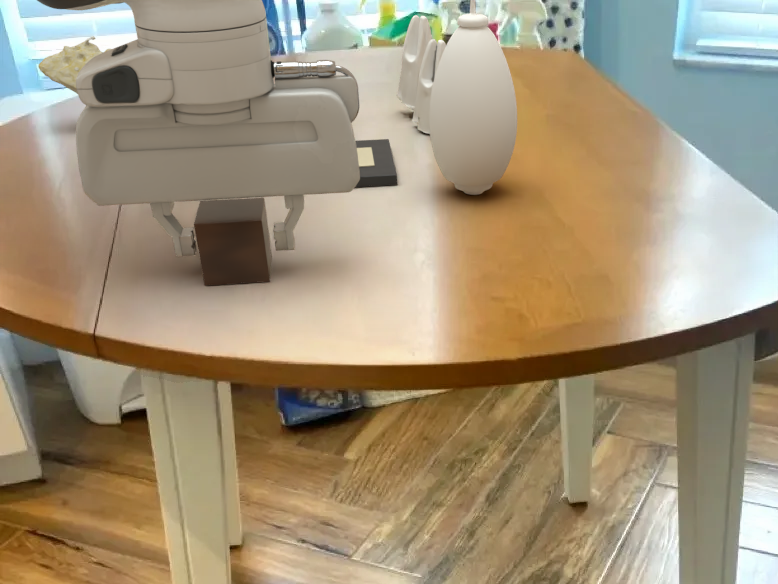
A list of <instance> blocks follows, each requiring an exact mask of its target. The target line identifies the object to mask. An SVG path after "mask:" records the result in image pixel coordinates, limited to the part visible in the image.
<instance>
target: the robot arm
mask: <svg viewBox="0 0 778 584" xmlns="http://www.w3.org/2000/svg"><path fill="white" fill-rule="evenodd" d="M36 1H37V2H39V3H40V4H42V5H43V6H46V7H48V8H51V9H55V10H67V11H88V10H93V9H97V8H102V7H106V6H109V5H117V4H118V5H119V4H124V3H125V4H126V5H128V7H129V8H130V10H131V11H132V14H133V21H134V28H135V33H136V37H137V38H136V39H135V40H132V41H129V42H127V43H124V44H122V45H119V46H117V47H113V48H110V49H111V50H108V51H106V50H105V51H106V52H105V51H102V52H103V53H101V54H99V55H97V56H95V57H94V58H92V59H91V60H90V61H88V62H87V63H86V64H85V65H84V66H83V67H82V69H81V70H80V71H79V73H78V75H77V78H76V88H77V93H78V94H77V93H76V94H77V96H78V99H79V100H80V102H81V103H82V104H83V105H85V106H84V108H83V109H82V111H81V113H80V114H79V116H78V118H77V120H76V125H75V147H76V157H77V164H78V170H79V171H78V172H79V176H80V181H81V185H82V189H83V190H82V191H83V193H84V194H85V195H86V196H87V198H89V199H90V200H91V201H92V202H94V204H96V205H97V206H100V207H107V206H123V205H143V204H150V209H151V215H152V218H153V219H154V220H155V221H156V222H157V223H158V225H160V227H162V229H163V230H164V231H165V233H167V235H168V236H169V237H171V238H172V243H173V249H174V253H175V257H177V258H181V257H192V256H197V252H198V246H197V240H196V234H195V229H194V226H193V227H184V226H183V225H182V224H181V223H180V221H179V220H178V219H177V218H176V216H175V215H174V213H173V210H174V207H175V203H179V202H197V201H198V202H200V201H209V200H228V199H246V198H271V197H283V198H284V205H285V208H286V209H287V210H288V212H287V214H286V216H285V219H284V221H280V222H273V229H272V230H273V231H272V233H273V239H274V247H275V251H276V252H278V251H281V252H282V251H295V250H296V249H295V248H296V244H295V243H296V242H295V232H294V231H295V228H296V226H297V224H298V221H299V219H300V217H301V215H302V214H303V212H304V209H305V196H307V195H324V194H326V195H327V194H341V193H342V194H343V193H344V194H345V193H350V192H352V191H353V190H354V189H355V188H356V187H355V186H356V185H357V183H358V182H359V180H360V170H359V161H358V154H357V147H356V142H355V141H356V137H355V132H354V127H353V124H352V123H353V122H354V121H355V120H356V119H357V117H358V114H359V111H360V92H359V84H358V81H357V78H356V77H355V76H354V74H353V73H352V72H351V71H350V70H349V69H348V68H346V67H343V66H341V65H336V61H335V60H332V59H331V60H330V59H319V60H316V61H298V60H289V61H273V60H272V55H271V47H270V38H269V29H268V21H267V20H268V19H267V13H266V8H265V4H264V2H263V0H36ZM337 72H338V73H340V75H339V74H337Z"/></svg>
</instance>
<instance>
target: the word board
mask: <svg viewBox="0 0 778 584" xmlns="http://www.w3.org/2000/svg"><path fill="white" fill-rule="evenodd" d="M355 142H356V147H357V154H358V161H359V170H360V180H359V182H358V183H357V185H356V186H355V187H354V188H364V187H365V188H366V187H367V188H368V187H383V186H384V187H385V186H397V185H398V173H397V169H396V165H395V161H394V156H393V152H392V147H391V142H390V139H389V138H384V139H383V138H382V139H381V138H380V139H362V140H361V139H360V140H359V139H358V140H355Z"/></svg>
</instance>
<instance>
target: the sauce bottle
mask: <svg viewBox="0 0 778 584" xmlns="http://www.w3.org/2000/svg"><path fill="white" fill-rule="evenodd" d="M456 24H457V26H458V27H457V28H456V29H455V30H454V32H453V33H452V35H451V36H450V38H449V39H448V41H447V43H446V47H445V49H444V52H443V54H442V57H441V59H440V62H439V65H438V68H437V72H436V75H435V79H434V83H433V88H432V94H431V101H430V115H429V124H430V134H429V136H430V143H431V148H432V152H433V155H434V159H435V162H436V164H437V166H438V168H439V170H440V172H441V174H442V175H443V177H444V178H445V180H446V181H448V182H449V183H453V184H454V188H455V189H456V190H459V191H462V192H463V193H464V194H467V195H471V196H478V195H481V194H483V193H484V192H485V191H488V190H490V189H491V188H492V187H493V185H494V183H496V182H497V181H498V182H499V181H500V180H501V179H502V178H503V177H504V174H505V173H506V171H507V169H508V167H509V165H510V161H511V160H512V156H513V153H514V150H515V146H516V141H517V133H518V106H517V105H518V104H517V98H516V97H517V96H516V90H515V86H514V81H513V77H512V74H511V70H510V67H509V64H508V60H507V58H506V56H505V52H504V51H503V49H502V46H501V44H500V42H499V41H498V38H497V36H496V35H495V33H494V32H493V31H492V30H491V29H490V28H489V26H488V25H489V18H488V16H487V15H485V14H483V13H477V5H476V0H469V13H464V14H462V15H459V17H458V18H457V21H456Z"/></svg>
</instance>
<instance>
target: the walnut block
mask: <svg viewBox="0 0 778 584" xmlns="http://www.w3.org/2000/svg"><path fill="white" fill-rule="evenodd" d="M193 227H194V232H195V240H196V243H197V252H198V257H199V262H200V267H201V268H200V269H201V274H202V278H203V279H202V280H203V285H204V286H205V287H206V286H223V285H224V286H225V285H239V284H255V283H256V284H257V283H270V282H271V274H272V273H271V272H272V261H273V253H272V246H271V238H270V231H269V221H268V215H267V208H266V200H265V197H254V198H236V199H218V200H199V204H198V207H197V211H196V214H195V218H194V221H193Z"/></svg>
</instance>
